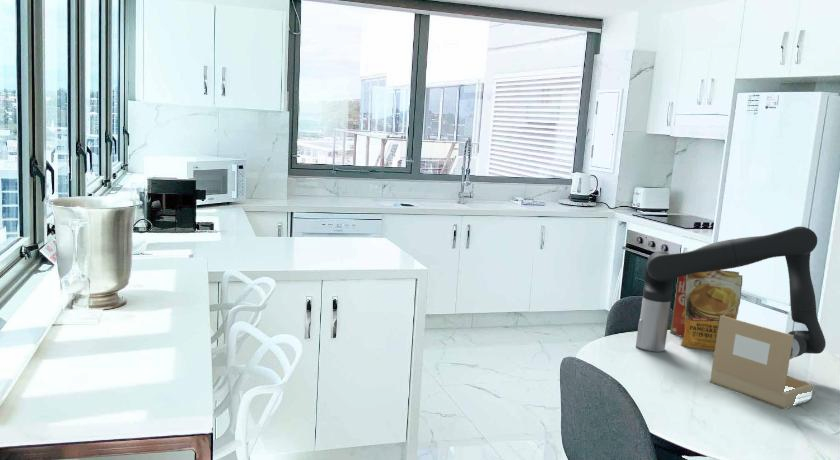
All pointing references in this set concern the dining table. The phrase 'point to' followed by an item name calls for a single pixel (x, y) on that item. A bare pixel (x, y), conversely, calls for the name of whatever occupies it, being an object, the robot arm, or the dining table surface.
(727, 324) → the lid
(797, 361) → the dining table surface
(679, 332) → the food packaging
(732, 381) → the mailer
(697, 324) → the pancake mix bag
